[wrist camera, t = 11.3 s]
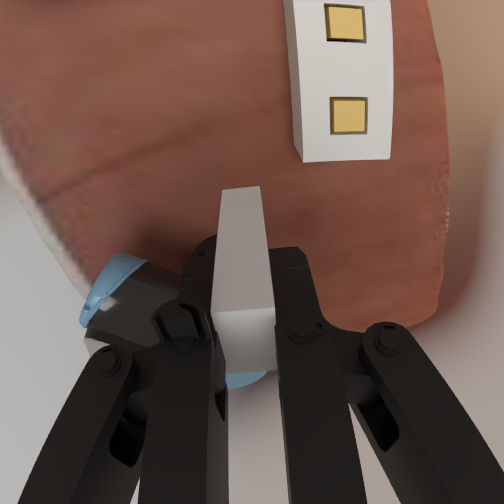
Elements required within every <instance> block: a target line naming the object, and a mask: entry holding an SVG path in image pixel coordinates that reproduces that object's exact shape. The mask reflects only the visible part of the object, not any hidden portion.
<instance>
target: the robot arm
mask: <svg viewBox="0 0 504 504" xmlns="http://www.w3.org/2000/svg"><path fill="white" fill-rule="evenodd" d="M79 321H80V324H81V325H82V326H83V327H84V328H87V332H86V335H85V337H84V343H85V344H86V347H87V349H88V352H89V355H90V359H89V361H88V362H87V364H86V366H85V368H84V369H83V371H82V373H81V375H80V376H79V378H78V380H77V382H76V384H75V386H74V387H73V389H72V391H71V393H70V395H69V396H68V398H67V400H66V402H65V404H64V406H63V408H62V410H61V412H60V413H59V415H58V417H57V419H56V421H55V423H54V425H53V427H52V429H51V431H50V433H49V435H48V437H47V439H46V441H45V443H44V445H43V447H42V450H41V452H40V454H39V456H38V458H37V460H36V462H35V464H34V467H33V469H32V471H31V474H30V475H29V478H28V480H27V482H26V485H25V487H24V489H23V492H22V494H21V496H20V499H19V501H18V504H130V502H131V499H132V497H133V494H134V491H135V489H136V486H137V483H138V480H139V478H140V485H139V495H138V504H229V492H228V491H229V487H228V389H232V388H238V387H242V386H245V385H248V384H251V383H253V382H255V381H256V380H258V379H260V378H261V377H262V376H263V375H265V373H266V372H267V371H274V370H278V380H279V397H280V405H281V416H282V427H283V438H284V449H285V461H286V473H287V484H288V497H289V504H367V499H366V493H365V487H364V481H363V476H362V470H361V464H360V459H359V454H358V449H357V444H356V439H355V434H354V429H353V424H352V420H351V415H350V410H349V405H348V403H349V404H350V406H351V408H352V410H353V412H354V414H355V415H356V417H357V419H358V421H359V423H360V425H361V427H362V429H363V431H364V433H365V434H366V437H367V438H368V440H369V442H370V444H371V446H372V448H373V450H374V452H375V454H376V456H377V458H378V460H379V461H380V464H381V466H382V467H383V469H384V471H385V473H386V475H387V477H388V479H389V481H390V483H391V485H392V487H393V489H394V491H395V493H396V495H397V497H398V499H399V501H400V503H401V504H504V472H503V470H502V468H501V467H500V465H499V463H498V462H497V460H496V458H495V457H494V455H493V453H492V452H491V450H490V448H489V447H488V445H487V443H486V442H485V440H484V439H483V437H482V435H481V434H480V432H479V431H478V429H477V427H476V426H475V424H474V423H473V421H472V420H471V418H470V417H469V415H468V414H467V412H466V411H465V409H464V408H463V406H462V405H461V403H460V402H459V400H458V399H457V397H456V396H455V394H454V393H453V391H452V390H451V389H450V387H449V386H448V384H447V383H446V381H445V380H444V378H442V376H441V374H440V373H439V371H438V370H437V369H436V367H435V366H434V365H433V363H432V362H431V360H430V359H429V358H428V356H427V355H426V353H425V352H424V351H423V350H422V348H421V347H420V345H419V344H418V343H417V341H416V340H415V339H414V337H413V336H412V335H411V333H410V332H409V331H408V330H406V329H405V328H404V327H403V326H401V325H399V324H396V323H393V322H380V323H375V324H374V325H372V326H370V327H369V328H368V329H367V330H366V332H365V333H361V332H353V331H347V330H342V329H339V328H337V327H335V326H333V325H331V324H330V323H329V322H327V320H326V319H325V318H324V317H323V315H322V313H321V310H320V306H319V302H318V298H317V294H316V290H315V287H314V283H313V279H312V276H311V272H310V268H309V264H308V261H307V257H306V255H305V254H304V253H303V252H302V251H301V250H300V249H299V248H298V247H297V246H296V247H285V248H274V249H268V247H267V239H266V231H265V223H264V215H263V208H262V200H261V192H260V186H256V187H246V188H236V189H227V190H222V197H221V206H220V216H219V225H218V235H215V236H212V237H210V238H208V239H206V240H205V241H203V242H202V243H201V244H200V245H199V246H198V247H197V248H196V250H195V251H194V253H193V256H192V257H191V258H190V260H189V261H188V262H187V264H186V265H185V266H184V267H183V271H182V275H179V274H177V273H175V272H172V271H170V270H168V269H165V268H163V267H161V266H158V265H156V264H154V263H152V262H150V261H149V260H148V259H141V258H138V257H136V256H133V255H130V254H128V253H118V254H116V255H114V256H113V257H112V258H111V259H110V260H109V261H108V263H107V264H106V265H105V267H104V268H103V270H102V271H101V273H100V274H99V276H98V278H97V279H96V281H95V283H94V285H93V287H92V289H91V291H90V293H89V295H88V297H87V299H86V303H85V305H84V307H83V309H82V311H81V314H80V318H79Z"/></svg>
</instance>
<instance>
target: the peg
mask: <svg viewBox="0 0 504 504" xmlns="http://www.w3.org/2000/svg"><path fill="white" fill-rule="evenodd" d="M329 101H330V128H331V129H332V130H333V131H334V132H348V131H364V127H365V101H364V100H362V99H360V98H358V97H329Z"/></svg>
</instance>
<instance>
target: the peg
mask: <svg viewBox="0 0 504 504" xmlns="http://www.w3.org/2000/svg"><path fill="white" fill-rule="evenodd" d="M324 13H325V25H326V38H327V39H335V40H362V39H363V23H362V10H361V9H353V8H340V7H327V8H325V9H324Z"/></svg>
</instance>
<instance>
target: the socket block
mask: <svg viewBox="0 0 504 504" xmlns="http://www.w3.org/2000/svg"><path fill="white" fill-rule="evenodd" d="M283 4H284V14H285V24H286V35H287V47H288V59H289V72H290V86H291V101H292V118H293V136H294V145H295V147H296V149H297V151H298V153H299V155H300V157H301V159H302V161H303V163H304V162H321V161H342V160H374V159H390V149H391V133H392V113H393V38H392V19H391V6H390V0H283ZM327 7H340V8H353V9H361V10H362V23H363V39H362V40H346V42H327V38H326V25H325V13H324V9H325V8H327ZM329 97H358V98H360V99H362V100H364V101H365V127H364V131H348V132H334V131H333V130H332V129H331V128H330V101H329Z"/></svg>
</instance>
